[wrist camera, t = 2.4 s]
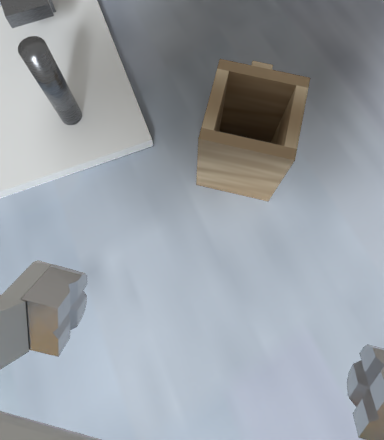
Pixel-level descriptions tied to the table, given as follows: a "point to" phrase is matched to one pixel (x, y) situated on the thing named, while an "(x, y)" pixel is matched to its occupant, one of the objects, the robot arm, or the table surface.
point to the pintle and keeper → (42, 56)
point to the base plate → (82, 91)
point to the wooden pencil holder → (250, 128)
